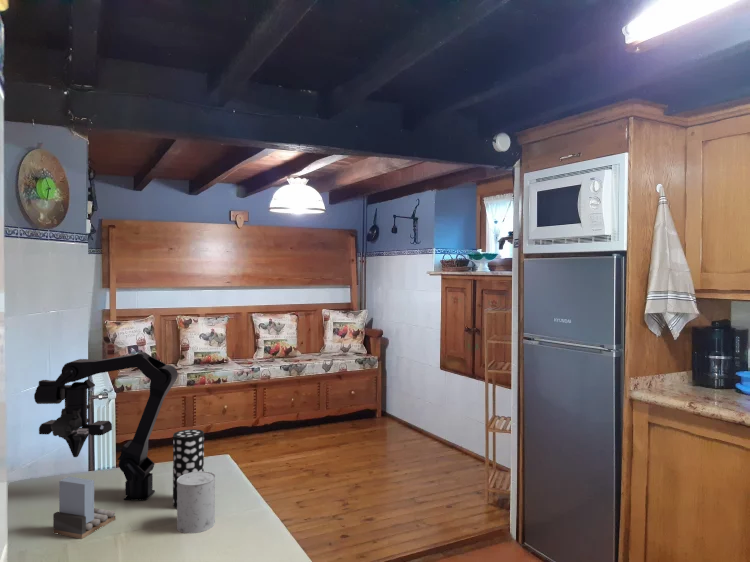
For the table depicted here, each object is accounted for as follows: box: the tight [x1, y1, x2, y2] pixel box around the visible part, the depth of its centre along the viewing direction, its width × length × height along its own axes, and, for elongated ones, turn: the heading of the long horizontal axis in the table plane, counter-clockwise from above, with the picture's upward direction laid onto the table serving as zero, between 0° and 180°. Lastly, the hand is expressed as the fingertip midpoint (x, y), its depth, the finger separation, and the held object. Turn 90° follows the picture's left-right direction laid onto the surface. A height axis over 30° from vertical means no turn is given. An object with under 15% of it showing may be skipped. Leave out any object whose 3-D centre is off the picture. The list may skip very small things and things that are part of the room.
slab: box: [58, 476, 95, 523], centre depth 137 cm, size 3×8×10 cm, turn 73°
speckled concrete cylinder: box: [176, 470, 216, 534], centre depth 141 cm, size 10×10×12 cm
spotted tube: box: [172, 428, 205, 509], centre depth 154 cm, size 8×8×20 cm
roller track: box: [52, 507, 116, 540], centre depth 140 cm, size 11×9×5 cm
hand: (75, 456), depth 157 cm, fingers closed
